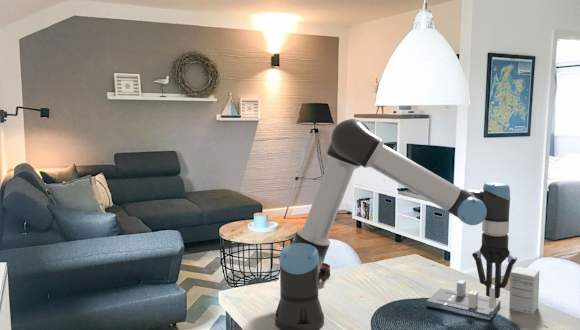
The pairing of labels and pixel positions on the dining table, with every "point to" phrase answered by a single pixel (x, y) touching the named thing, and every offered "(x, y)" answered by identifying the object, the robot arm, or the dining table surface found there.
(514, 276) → the supplement box
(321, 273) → the pottery mug
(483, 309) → the plate
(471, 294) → the fader near
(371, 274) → the dining table surface
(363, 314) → the dining table surface
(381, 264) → the dining table surface
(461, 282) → the block
